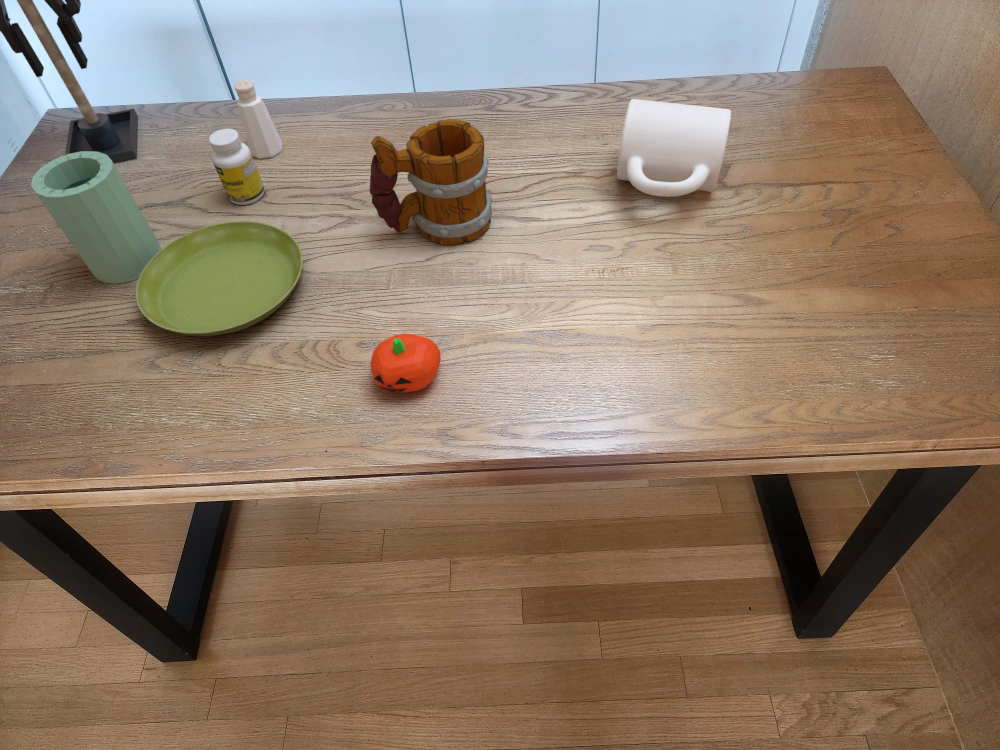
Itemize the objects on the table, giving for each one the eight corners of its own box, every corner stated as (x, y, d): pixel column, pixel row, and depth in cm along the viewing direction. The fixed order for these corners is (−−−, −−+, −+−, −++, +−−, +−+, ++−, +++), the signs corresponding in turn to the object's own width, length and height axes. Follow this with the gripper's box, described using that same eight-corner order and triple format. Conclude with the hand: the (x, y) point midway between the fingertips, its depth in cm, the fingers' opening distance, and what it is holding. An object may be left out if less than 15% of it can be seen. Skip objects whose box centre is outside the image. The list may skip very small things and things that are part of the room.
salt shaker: (255, 163, 104) (230, 97, 95) (245, 147, 107) (220, 81, 98) (288, 152, 106) (266, 86, 97) (277, 136, 109) (255, 70, 100)
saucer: (258, 365, 78) (249, 348, 76) (113, 331, 83) (100, 314, 80) (335, 252, 90) (329, 233, 88) (204, 227, 95) (195, 209, 92)
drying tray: (138, 161, 106) (132, 150, 104) (70, 175, 104) (63, 164, 102) (139, 119, 114) (133, 108, 112) (76, 131, 112) (70, 120, 110)
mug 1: (505, 235, 91) (501, 137, 79) (388, 263, 89) (366, 166, 77) (482, 190, 98) (475, 93, 86) (372, 215, 95) (350, 119, 83)
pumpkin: (451, 388, 75) (445, 352, 70) (383, 410, 74) (372, 374, 69) (433, 344, 79) (426, 306, 74) (368, 364, 78) (356, 327, 73)
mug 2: (625, 151, 102) (634, 83, 94) (716, 163, 100) (734, 93, 91) (607, 218, 93) (614, 149, 84) (707, 232, 90) (725, 163, 81)
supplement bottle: (221, 201, 98) (195, 143, 91) (243, 181, 101) (219, 122, 94) (251, 209, 97) (227, 150, 89) (272, 188, 100) (251, 129, 92)
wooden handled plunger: (90, 153, 107) (-5, -6, 88) (91, 138, 109) (-1, -19, 91) (119, 147, 107) (32, -12, 89) (120, 133, 110) (35, -25, 91)
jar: (90, 290, 88) (27, 204, 77) (94, 247, 93) (35, 160, 82) (162, 274, 89) (110, 186, 78) (161, 232, 95) (113, 144, 84)
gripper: (-137, -99, 77) (-9, 92, 95) (34, -122, 80) (126, 68, 98) (-121, -118, 81) (-1, 68, 99) (40, -139, 84) (128, 45, 102)
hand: (62, 68), depth 99 cm, fingers open, 5 cm apart
